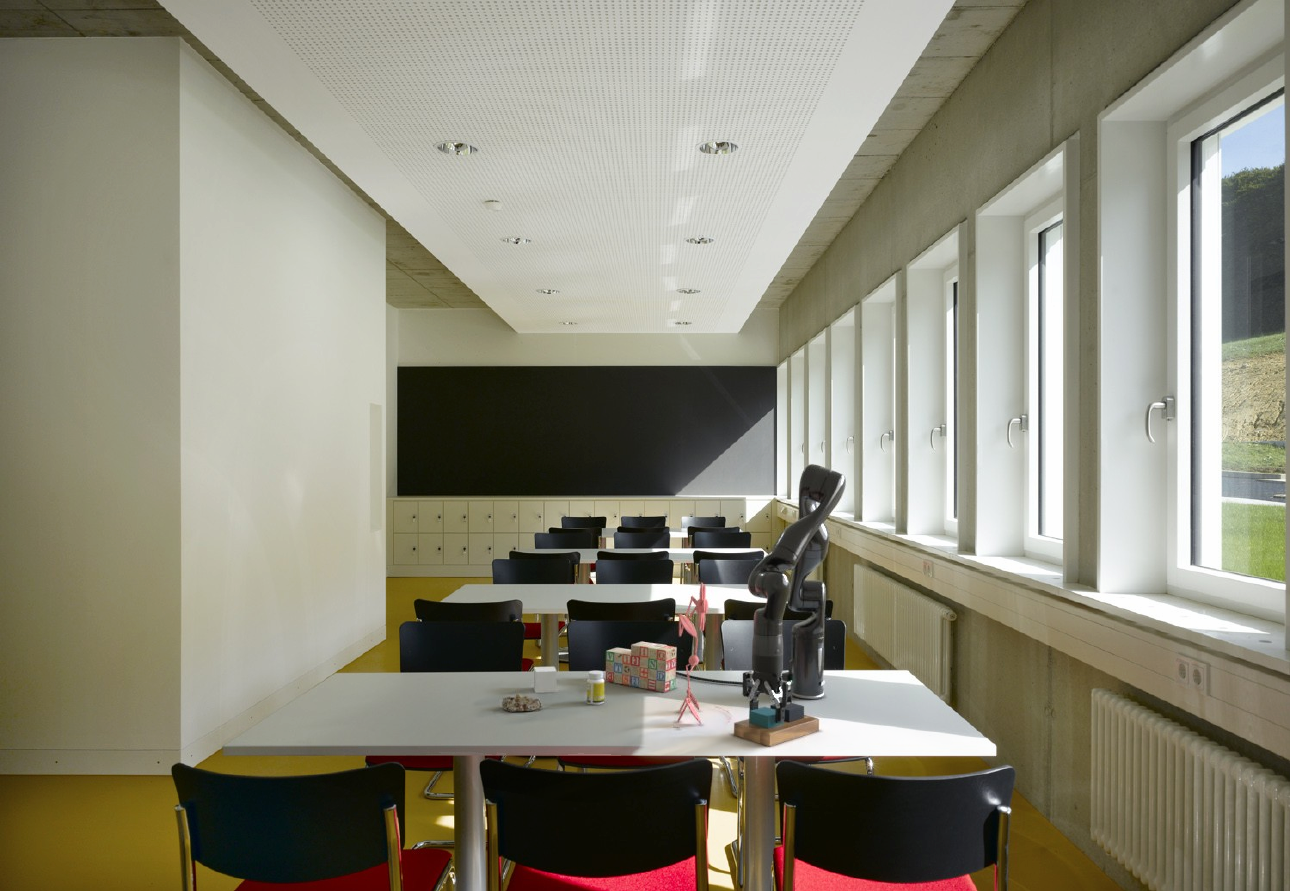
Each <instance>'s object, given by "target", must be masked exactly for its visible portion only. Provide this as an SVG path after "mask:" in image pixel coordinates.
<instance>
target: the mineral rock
mask: <svg viewBox="0 0 1290 891" xmlns="http://www.w3.org/2000/svg"><path fill="white" fill-rule="evenodd" d="M501 706H502V709H503V710H504V711H507V712H511V713H515V712H533V711H538V710H541V708H542V702H541V700H540V698H532V697H529V696H526V695H524V696H523V695H522V694H520V693H517V694H516V695H515V696H513V697H512V696H506V697H503V698H502V702H501Z"/></svg>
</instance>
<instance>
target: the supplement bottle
mask: <svg viewBox="0 0 1290 891" xmlns="http://www.w3.org/2000/svg"><path fill="white" fill-rule="evenodd" d="M604 703H605V679H604V672H603V671H602V670H590V671H588V679H587V680H586V704H588V705H592V706H599V705H603V704H604Z"/></svg>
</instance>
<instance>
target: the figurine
mask: <svg viewBox="0 0 1290 891" xmlns="http://www.w3.org/2000/svg"><path fill="white" fill-rule="evenodd" d="M706 594H707V586H706V584H704V583H703V582H701V583H700V587H699V598H698V599H696V597H694V596H693V595H691V596H690V600H689V604H688V606H687V611H686V614H685V615H684V614H682V613H678V614H677V615H678V638H681V637H682V634H683V633H684V632H683V631H684V630H685V632H687V633H688V634H689V635H690V636H692V637H693V638H694V639H695V644H694V646H695V648H694V654H692V655H690V656H689V658H688V664H686V665H685V671H686V674H687V677H686V678H687V689H686V691H685V692H686V694H687V695H686V696H685V698H684V699H683V702H682V704H681V706H680V708H679V710H678V713H680V714H679V717H678V718H677V720H676V722H677V723H680V722H681V719H682V718H683V715H684V713H685V711H686V710H687V708H688V709H689V711H690V713H691V714H692V716H693V717H694V719H695V720H696V721H697V722H698V723H699V725H701V724H702V721H701V718H700V715H699V714H698V712H697V710H698V711H699V710H700V705H699V703H698V700H697V699H696V697H695V696H694V695H693V693H692V692H693V691H691V684H690V683H691V682H690V678H689V675H691V672H692V671H693V669H694V667H695V666H698V664H699V662H700V658H699V657H698V655H697V653H698V652H697V651H698V642H699V637H698V634H697V629H696V628H695V626H694V624H693V622H692V621H691V618H692V617H693V615H694V614H695V612H696V614H697V615H698V617H697V618H698V619H697V620H698V624H697V625H698V630H701V631H702V632H703V631H704V630H705V618H706V616H705V615H706V614H707V613H708V611H709V600H708V599H706ZM692 603H693V604H694V605H695V607H694V608H693V610H692V611H691V613H690V610H691V606H692V605H693V604H692ZM689 613H690V614H689ZM689 666H691V668H690V670H689V669H688V667H689ZM715 708H716V709H719V710H722V711H724V712H726V713H728V714H729V715H730V716H731V717H732V714H731V713H730V712H729V710H727V709H723V708H721V707H718V706H715ZM731 721H732V719H729V721H727V724H728V723H730V722H731ZM674 728H676V729H680V727H679V726H674Z"/></svg>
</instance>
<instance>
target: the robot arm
mask: <svg viewBox="0 0 1290 891" xmlns="http://www.w3.org/2000/svg"><path fill="white" fill-rule="evenodd" d="M846 485H847V480H846V477H845V475H844V474H843V473H840V472H839V471H835V470H833V469H830V468H827V467H824V466H822V465H819V464H814V463H810V464H807V466H805V468H804V469H803V471H802V472H801V475H800V479H799V486H798V515H797V516H798V517H797V520H795V521H794V522H793V523H791V524H790V525H788V526H787V527H786V528H784V530H783V531H782V532H781V533H780V535H779V537H778V538H777V540H776V542H775V544H774V545H773V547H772V549H771V551H770V552H769V553H768V554H767V555H765V556H764V557H763V559H761V561H760V562H759V563H758V564H756V566H755V567H754V568H753V569H752V570H751V572H750V574H749V576H748V581H747V588H748V591H749V592H750V594H751V595H752V596H753V597H755V598H759V599H765V600H766V603H765V606H764V607H761V608H758V609H755V611H754V613H753V614H754V615H753V633H752V634H753V636H752V640H751V641H752V643H751V644H752V646H751V647H752V648H751V650H752V651H751V670H752V671H751V670H749V671H745V672H742V681H736V680H735V681H734V680H733V681H732V680H721V679H712V678H706V677H702V676H701V677H700V676H695V675H691V674H689V679H692V680H696V681H702V682H708V683H715V684H724V685H725V684H726V685H736V686H737V685H738V686H742V696H743V697H744V698H747V700H749V705H748V706H749V709H748V710H749V711H751V710H755V709H758V708H759V704H760V703H759V697H760V696H761V695H762V694H765V695H767V696H769V697H770V700H772V701H773V704H775V705H776V707H777V708H775V723H777V724H780V723H782V722H783V721H784V719H785V717H784V716H785V707H787V706H791V705H792V703H793V697H795V698H799V699H803V700H817V699H818V700H819V699H822V698H823V697H825V695H824V694H825V693H824V685H825V683H826V679H824V677H825V675H824V672H825V615H826V601H827V589H826V585H825V583H824V582H823V581H822V580H817V579H807V577H808V576H809V575H810V574H811V573H812V572H814V571H815V570H816V569H817V568H818V567H819V566H820V565H821V564H822V563H823V562H824V561H825V559H826V558H827V556H828V551H829V544H830V532H829V529H828V526H827V524H826V520H827V519H828V517H829V516H830V515H831V513H832V512H833V511H834V510H835V508H836V507H837V505H838V504H839V503H840V500H841V499H842V497H843V495H844V493H845V490H846ZM817 503H818V504H819V505H818V506H817ZM787 571H791V573H790V577H789V578H788V576H787V575H786V573H784V572H787ZM786 606H788V608H789V609H790V610H791V611H792V612H796V613H812V615H811V616H809V617H808V618H806V619H804V620H803V621H800V622H795V623H794V624H793V625H792V627H791V659H789V661H788V671H787V672H783V671H784V639H783V617H784V614H785V611H786ZM676 675H677V676H681V677H684V678H687V673H683V672H679V671H676ZM749 711H748V712H749Z"/></svg>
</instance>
